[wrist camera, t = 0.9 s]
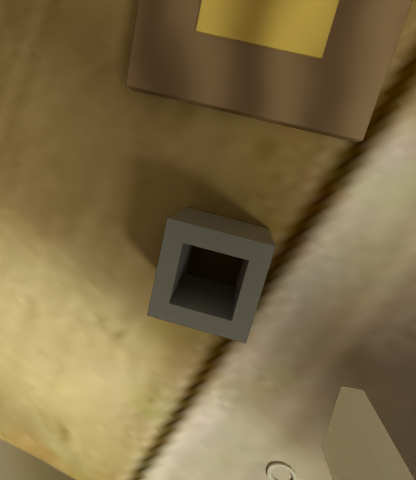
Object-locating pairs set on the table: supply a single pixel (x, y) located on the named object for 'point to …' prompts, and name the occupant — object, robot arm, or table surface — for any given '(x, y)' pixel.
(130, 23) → the table surface
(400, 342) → the table surface
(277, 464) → the scissors
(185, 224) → the collar
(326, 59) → the base plate
